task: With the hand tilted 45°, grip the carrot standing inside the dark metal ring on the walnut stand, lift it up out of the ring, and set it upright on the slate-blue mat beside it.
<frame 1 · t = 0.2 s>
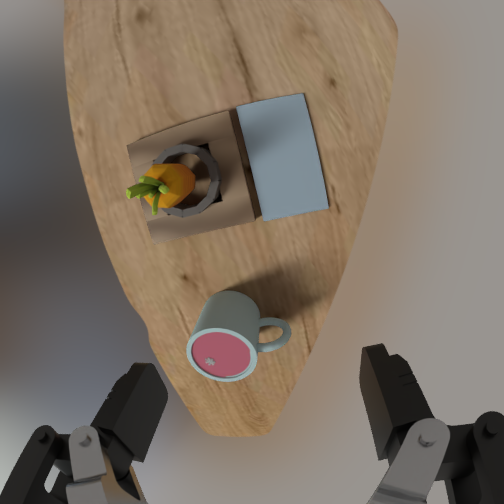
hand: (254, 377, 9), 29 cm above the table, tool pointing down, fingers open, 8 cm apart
carrot: (190, 178, 36), resting in ring stand
ring stand: (189, 178, 36), on the table
mug: (245, 314, 42), on the table
slate mat: (283, 156, 34), on the table
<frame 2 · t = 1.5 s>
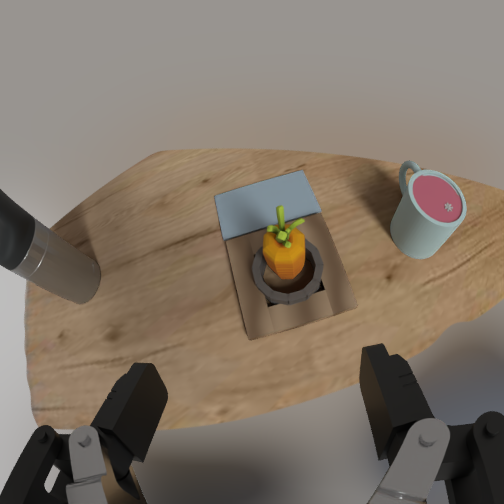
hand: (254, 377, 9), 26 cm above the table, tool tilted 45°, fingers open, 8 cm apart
carrot: (289, 275, 39), resting in ring stand
ring stand: (288, 275, 38), on the table
mug: (410, 221, 39), on the table
slate mat: (265, 203, 44), on the table
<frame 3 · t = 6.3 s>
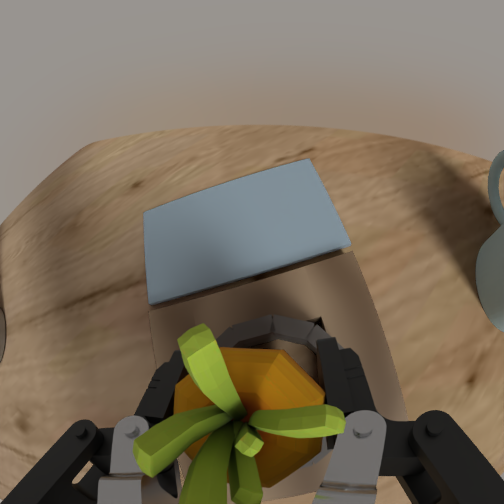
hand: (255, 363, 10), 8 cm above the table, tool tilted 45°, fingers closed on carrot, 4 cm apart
carrot: (277, 392, 16), resting in ring stand, touching gripper
ring stand: (277, 393, 16), on the table
mug: (500, 260, 16), on the table
slate mat: (234, 226, 22), on the table
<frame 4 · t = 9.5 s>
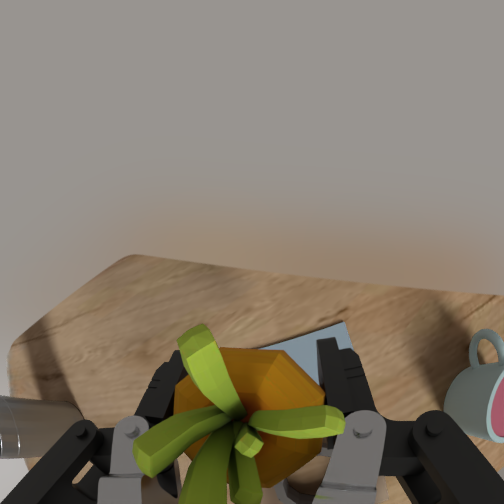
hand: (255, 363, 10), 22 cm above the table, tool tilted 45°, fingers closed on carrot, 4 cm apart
carrot: (277, 392, 16), point 14 cm above the table, touching gripper
ring stand: (316, 472, 23), on the table
mug: (467, 383, 23), on the table
slate mat: (289, 378, 29), on the table
when the fingers open (9 cm above the table, at t = 13.0 s): carrot drops 1 cm, resting on slate mat.
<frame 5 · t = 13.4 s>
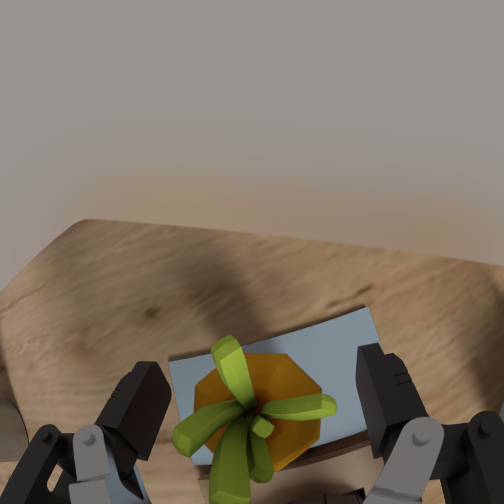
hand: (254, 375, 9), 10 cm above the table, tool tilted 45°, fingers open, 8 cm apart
carrot: (278, 393, 17), resting on slate mat
slate mat: (281, 396, 18), on the table
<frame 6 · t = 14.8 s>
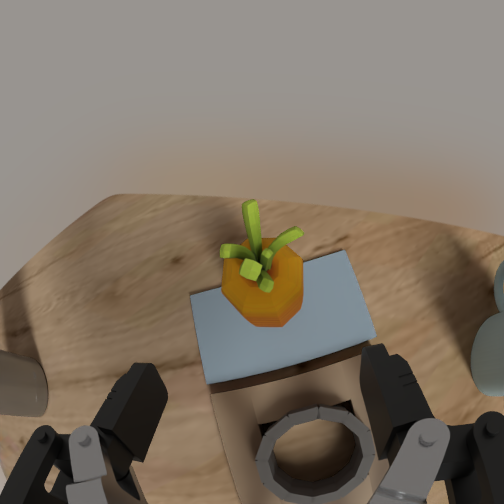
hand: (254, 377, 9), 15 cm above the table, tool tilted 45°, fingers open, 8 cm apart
carrot: (277, 315, 24), resting on slate mat
ring stand: (314, 448, 19), on the table
mug: (495, 335, 19), on the table
slate mat: (279, 318, 24), on the table
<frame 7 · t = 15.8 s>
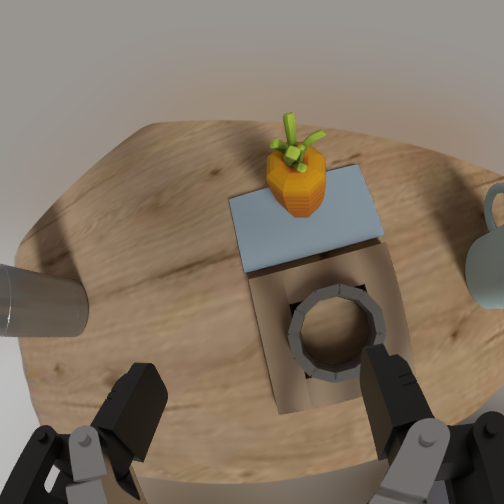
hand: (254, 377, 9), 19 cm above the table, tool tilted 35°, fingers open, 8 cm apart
carrot: (303, 213, 30), resting on slate mat
ring stand: (335, 331, 27), on the table
mug: (486, 254, 24), on the table
slate mat: (305, 216, 30), on the table
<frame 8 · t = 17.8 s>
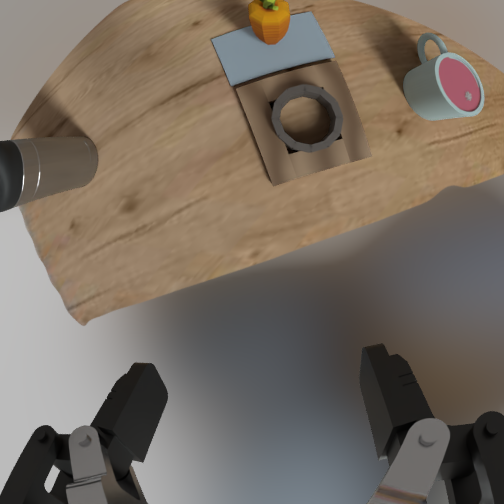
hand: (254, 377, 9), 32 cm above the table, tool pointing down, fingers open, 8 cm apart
carrot: (271, 43, 30), resting on slate mat
ring stand: (305, 120, 35), on the table
mug: (422, 81, 30), on the table
slate mat: (272, 45, 31), on the table
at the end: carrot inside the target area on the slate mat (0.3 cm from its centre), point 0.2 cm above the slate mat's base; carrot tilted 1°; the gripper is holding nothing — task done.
